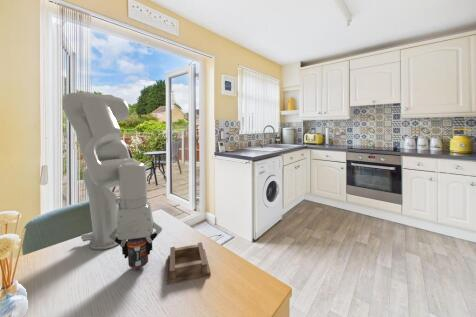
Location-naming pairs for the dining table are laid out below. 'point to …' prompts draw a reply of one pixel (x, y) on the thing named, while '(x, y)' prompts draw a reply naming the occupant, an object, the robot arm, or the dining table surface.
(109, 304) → the dining table surface
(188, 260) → the can holder
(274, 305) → the dining table surface
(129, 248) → the supplement bottle
